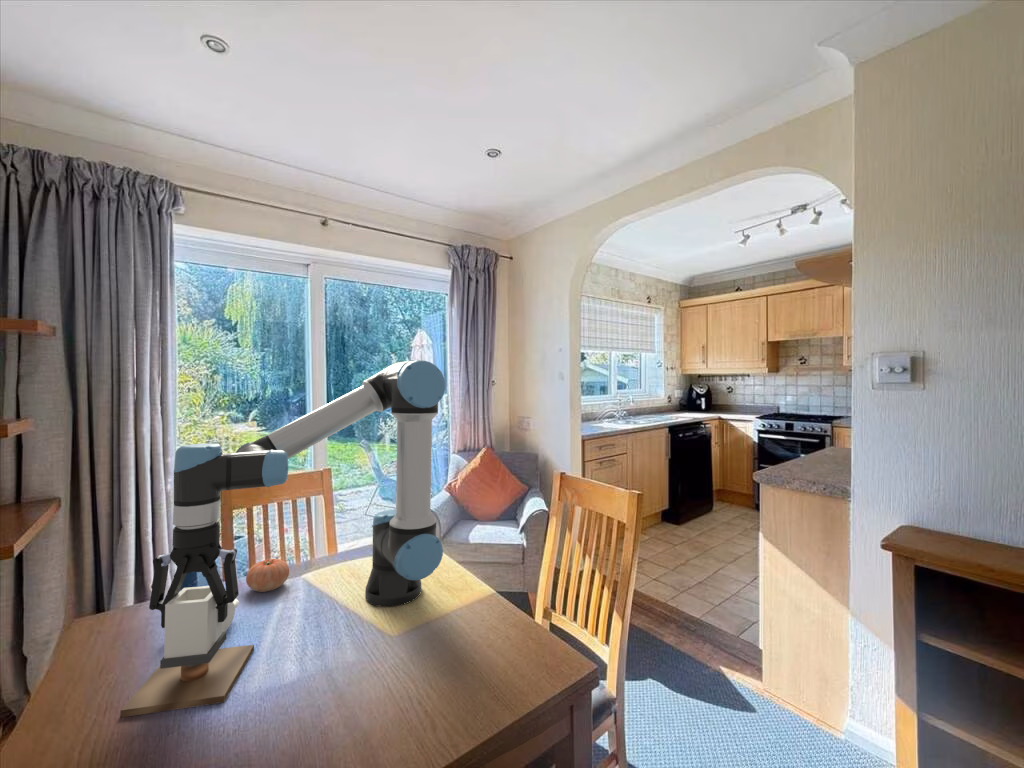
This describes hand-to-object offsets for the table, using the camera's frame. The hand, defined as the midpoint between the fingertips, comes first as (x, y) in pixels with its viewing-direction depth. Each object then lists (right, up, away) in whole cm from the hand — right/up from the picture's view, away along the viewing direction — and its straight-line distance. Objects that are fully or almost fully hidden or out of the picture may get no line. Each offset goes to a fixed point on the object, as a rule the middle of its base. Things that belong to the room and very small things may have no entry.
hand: (194, 640), depth 85 cm
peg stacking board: (0, -8, 0) cm, 8 cm away
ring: (0, -3, 0) cm, 3 cm away
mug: (-10, -8, +18) cm, 22 cm away
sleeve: (0, -1, 0) cm, 1 cm away
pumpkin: (-7, -8, +38) cm, 40 cm away
